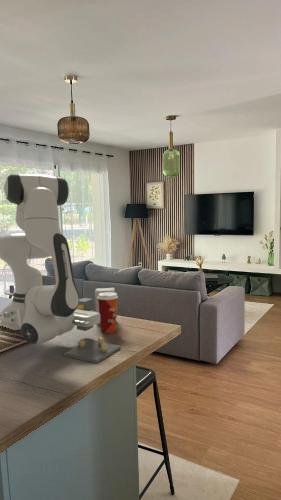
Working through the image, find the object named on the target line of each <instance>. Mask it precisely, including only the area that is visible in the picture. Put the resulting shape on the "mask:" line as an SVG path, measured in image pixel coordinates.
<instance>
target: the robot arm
mask: <svg viewBox="0 0 281 500" xmlns="http://www.w3.org/2000/svg"><path fill="white" fill-rule="evenodd" d="M3 192H4V195H5V197H6V200H8V202H9V203H11V204H14V205H16V211H15V212H16V214H15V223H16V225H17V227H18V228H19V229H21V231H23V232H24V233H22V232H20V233H17V232H16V233H8V234H3V235H0V259H1V260H2V261H4V262H5V264H7V266H9V268H10V269H11V271H12V273H13V274H12V275H13V278H14V280H13V281H14V287H15V289H14V290H15V291H14V293H11V294H10V295H11V296H10V297H12V301H11V302H9V303H8V304H7V305H6V306H5V307H4V308H3V309H2V310H1V314H0V315H1V317H0V318H1V319H0V327H2V326H3V328H5V327H6V329H8V328H9V330H11V329H12V331H18V330H19V331H20V334H21V336H22V338H23V339H24V340H25V341H26V342H27V343H28V344H31V345H32V344H33V345H38V344H39V345H40V344H43V343H46V342H48V341H51V340H53V339H55V338H56V337H59V336H62V335H64V334H67V333H68V332H71V331H72V330H73V329H74V328H75V326H76V327H77V326H82V327H89V326H93V327H94V326H95V325H99V324H98V323H100V313H98V312H96V311H95V310H94V309H93V310H91V309H90V310H88V311H86V310H79V309H77V307H78V305H79V299H80V296H79V292H78V289H77V286H76V283H75V282H76V281H75V276H74V270H73V264H72V258H71V252H70V246H69V243H68V240H67V238H66V236H65V235H63V234H62V232H61V228H60V223H59V222H60V220H59V219H60V217H59V206H63V205H65V204H66V203H67V202H68V201H67V200H68V199H69V195H70V188H69V183H68V182H67V180H66V179H65V178H64V177H60V176H57V175H56V176H53V175H48V174H40V173H38V174H34V173H33V174H32V173H30V174H29V173H24V174H23V173H22V174H21V173H12V174H11V173H10V174H9V175H8V176H7V177H6V180H5V182H4V184H3ZM49 257H50V258H51V259H52V264H53V271H54V278H55V284H51V285H48V284H47V285H46V284H43V274H42V272H41V271H40V269H38V268H37V267H36V268H35V267H34V266H31V265H28V260H33V259H34V260H37V259H46V258H49Z"/></svg>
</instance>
